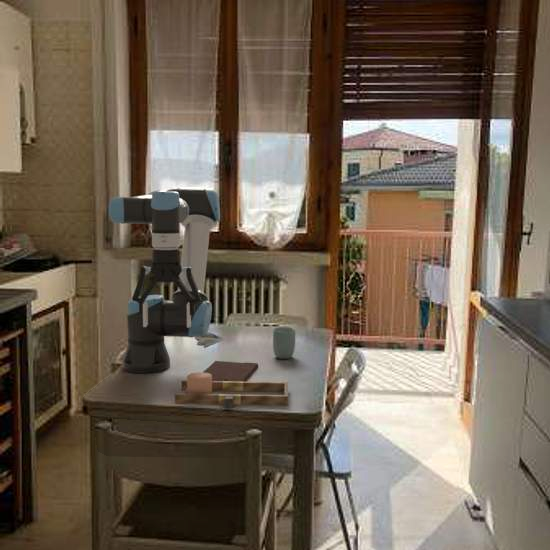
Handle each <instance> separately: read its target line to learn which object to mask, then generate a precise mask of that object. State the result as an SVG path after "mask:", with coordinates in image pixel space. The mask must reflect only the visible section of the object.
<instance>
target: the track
mask: <svg viewBox="0 0 550 550" xmlns="http://www.w3.org/2000/svg"><path fill="white" fill-rule="evenodd" d="M180 386H181V387H180V389H187V380H181V383H180ZM215 390H218V391H221V392H222V391H223V392H224V391H226V392H227V391H228V392H229V391H230V392H231V391H232V392H283V393H284V394H234V393H233V394H229V393H226V394H224V393H212V394H187V393H174V404H175V403H198V404H197V405H224V408H227V409H230V408H231V409H233V408H234V405H243V406H244V405H245V406H249V405H250V406H255V405H256V406H288V405H289V382H286V381H283V382H282V381H246V382H239V381H212V391H215ZM218 391H217V392H218Z"/></svg>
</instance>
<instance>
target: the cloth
mask: <svg viewBox="0 0 550 550" xmlns="http://www.w3.org/2000/svg"><path fill="white" fill-rule="evenodd" d="M194 339H195V340H197V342H196V346H201V347H203V348H204V349H205V348H208V347H211V346H213V345H215V344H218V343H220V342H221V341H223V340H225V338H224V337H222V336H219V335H217V334H215V333H212V332H208V331H207V333H206V334H205V335H204V336H202V337H194Z"/></svg>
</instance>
